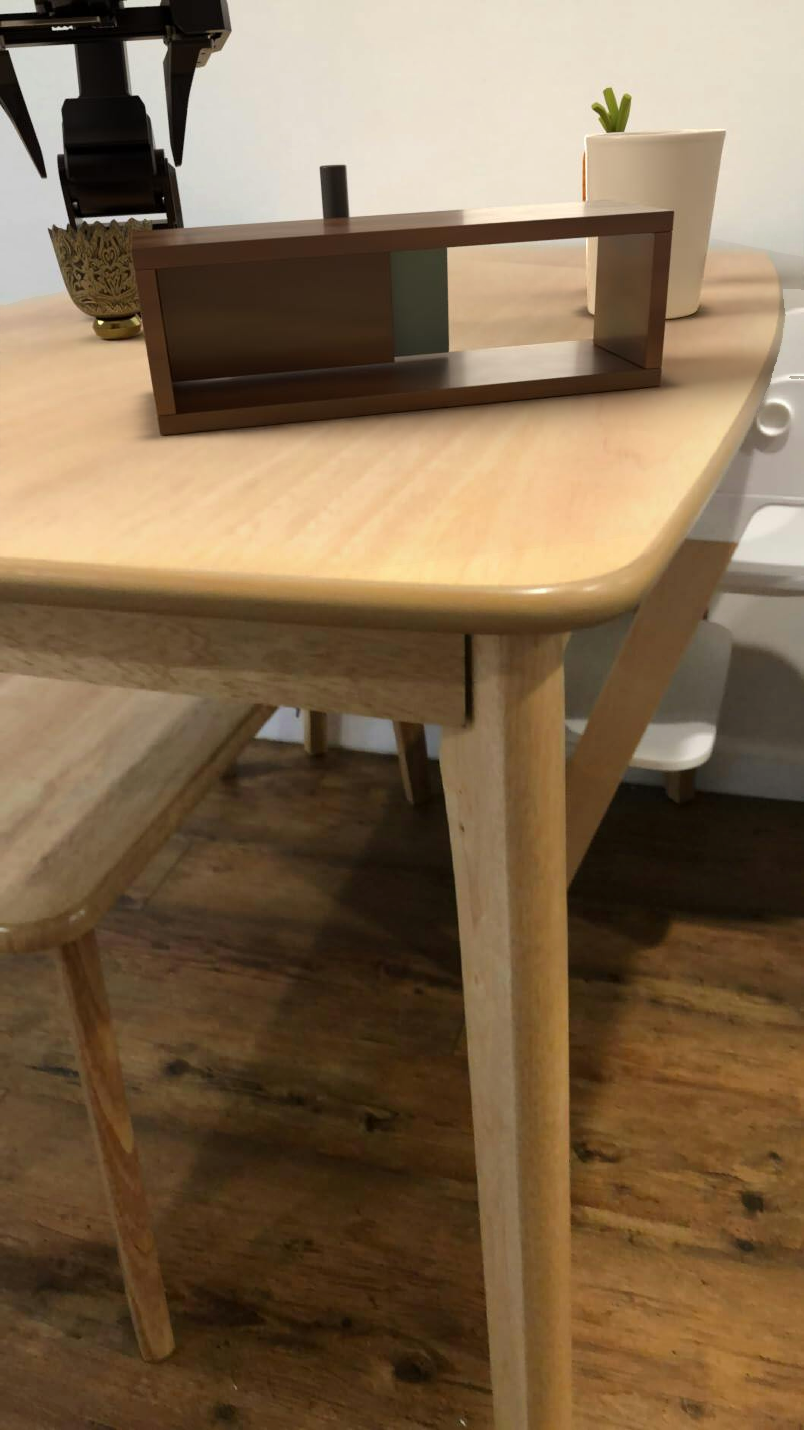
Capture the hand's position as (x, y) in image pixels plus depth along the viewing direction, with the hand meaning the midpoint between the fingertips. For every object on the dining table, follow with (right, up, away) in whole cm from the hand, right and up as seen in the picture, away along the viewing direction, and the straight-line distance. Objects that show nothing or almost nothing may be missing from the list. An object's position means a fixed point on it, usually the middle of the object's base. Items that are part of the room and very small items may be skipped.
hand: (112, 171), depth 72 cm
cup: (-2, -9, +8) cm, 12 cm away
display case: (+20, -19, -12) cm, 30 cm away
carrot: (+38, -1, +18) cm, 42 cm away
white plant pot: (+39, -7, +8) cm, 40 cm away
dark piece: (+16, -15, -7) cm, 23 cm away
